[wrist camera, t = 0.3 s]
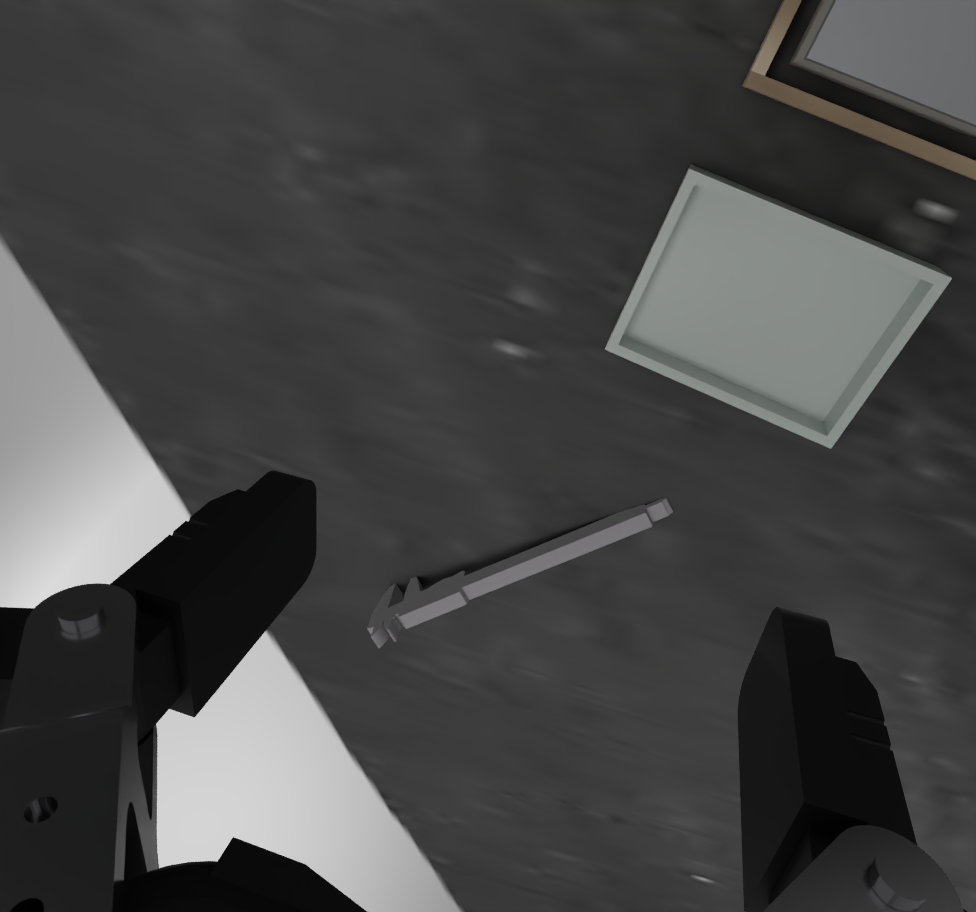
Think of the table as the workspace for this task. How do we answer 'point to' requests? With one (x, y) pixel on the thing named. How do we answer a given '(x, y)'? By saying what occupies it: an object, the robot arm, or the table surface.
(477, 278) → the table surface
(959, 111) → the gray rectangular box
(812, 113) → the holder
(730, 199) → the tray
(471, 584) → the caliper
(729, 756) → the table surface
